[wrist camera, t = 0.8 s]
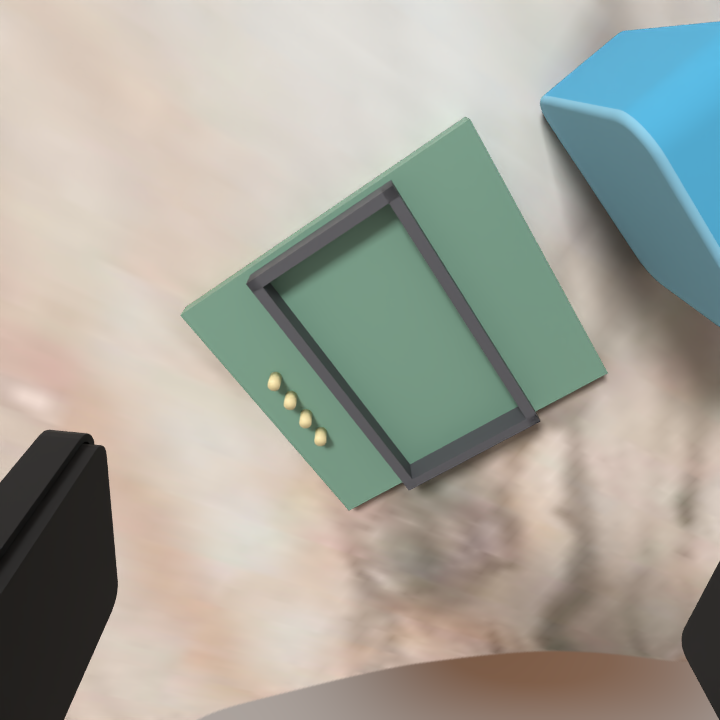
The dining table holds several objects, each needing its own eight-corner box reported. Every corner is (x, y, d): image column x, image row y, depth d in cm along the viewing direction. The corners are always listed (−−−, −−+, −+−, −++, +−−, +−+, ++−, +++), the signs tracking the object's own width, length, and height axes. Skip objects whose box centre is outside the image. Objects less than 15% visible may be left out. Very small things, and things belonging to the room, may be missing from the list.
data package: (724, 224, 32) (909, 307, 22) (648, 276, 34) (787, 379, 23) (611, 29, 28) (771, 11, 17) (530, 97, 29) (632, 120, 19)
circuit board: (465, 116, 30) (475, 122, 27) (600, 363, 36) (617, 385, 34) (185, 307, 34) (172, 326, 32) (349, 498, 40) (348, 526, 38)
